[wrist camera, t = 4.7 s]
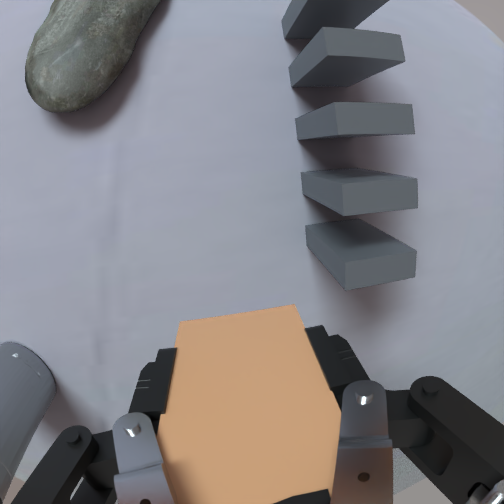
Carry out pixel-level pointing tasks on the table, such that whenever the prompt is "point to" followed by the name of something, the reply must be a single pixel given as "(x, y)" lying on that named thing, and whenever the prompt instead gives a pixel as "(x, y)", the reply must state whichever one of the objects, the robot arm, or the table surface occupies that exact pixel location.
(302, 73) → the domino
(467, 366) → the table surface
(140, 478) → the robot arm
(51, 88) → the stone
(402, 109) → the domino
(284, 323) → the domino
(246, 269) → the table surface
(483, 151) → the table surface
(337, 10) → the domino
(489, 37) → the table surface
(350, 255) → the domino
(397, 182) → the domino
